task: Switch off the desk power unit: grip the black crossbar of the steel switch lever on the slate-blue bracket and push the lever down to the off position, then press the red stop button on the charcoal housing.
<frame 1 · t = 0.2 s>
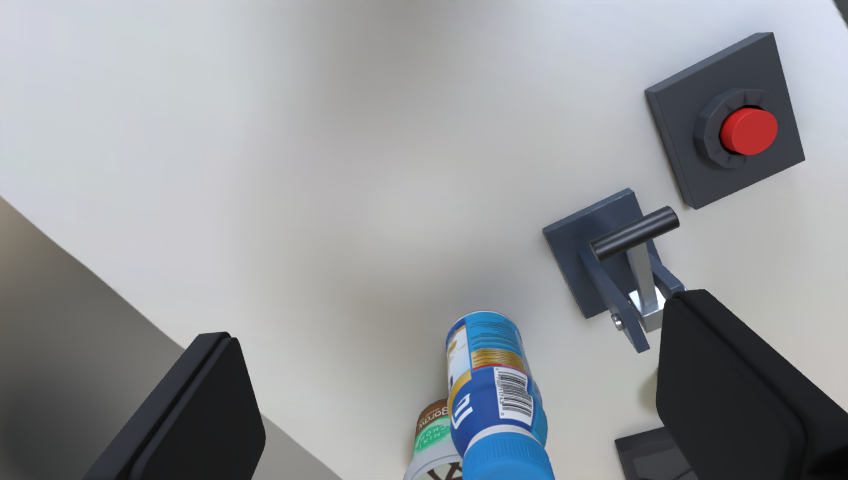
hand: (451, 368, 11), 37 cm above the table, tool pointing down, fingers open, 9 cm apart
beverage bottle: (482, 339, 53), on the table
picture frame: (697, 458, 60), on the table
food container: (437, 415, 57), on the table
button housing: (718, 123, 44), on the table
stop button: (748, 131, 40), point 4 cm above the table, slide at 0.1 cm
switch lever: (642, 277, 36), point 13 cm above the table, hinge at 25.0°
switch bracket: (604, 253, 49), on the table
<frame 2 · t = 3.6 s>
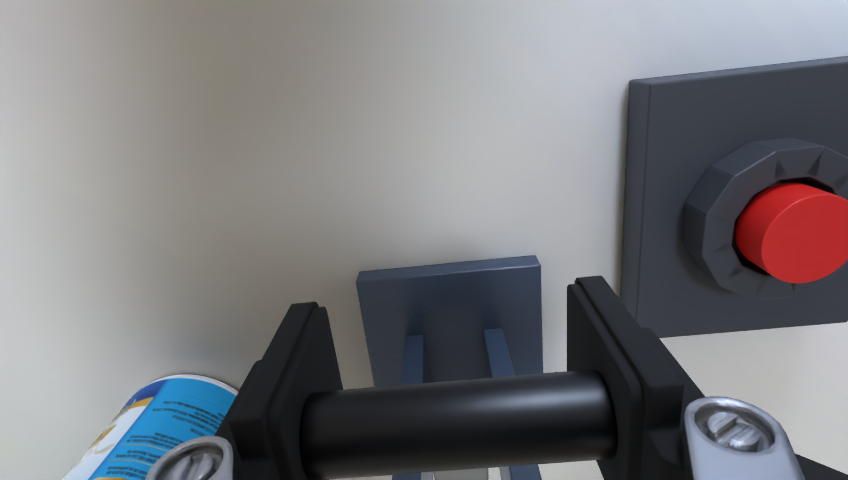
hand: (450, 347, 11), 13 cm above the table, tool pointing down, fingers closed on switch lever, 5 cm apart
beverage bottle: (201, 424, 29), on the table
button housing: (729, 199, 23), on the table
stop button: (795, 232, 19), point 4 cm above the table, slide at 0.1 cm
switch bracket: (455, 354, 27), on the table
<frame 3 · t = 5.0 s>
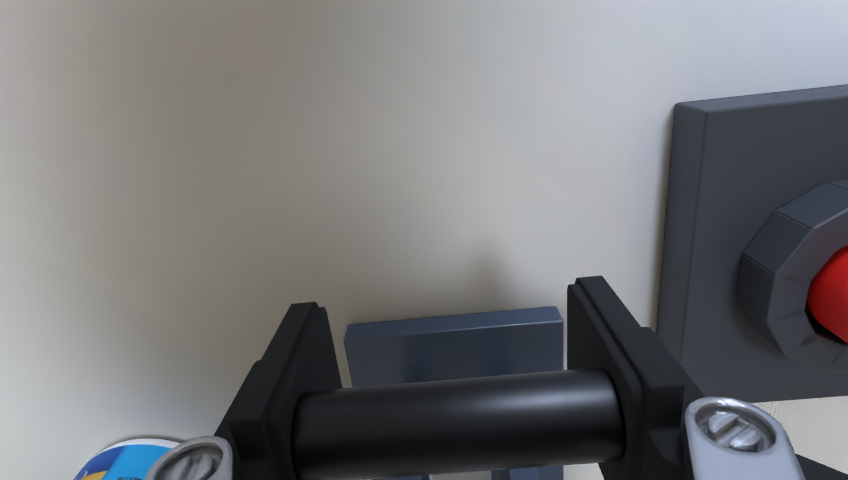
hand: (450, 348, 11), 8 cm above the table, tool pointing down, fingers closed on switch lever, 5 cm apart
button housing: (789, 243, 19), on the table
switch bracket: (461, 415, 23), on the table
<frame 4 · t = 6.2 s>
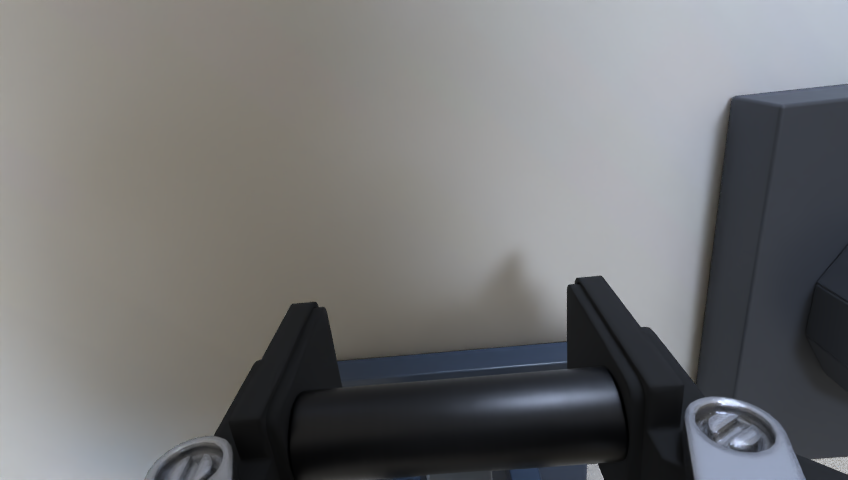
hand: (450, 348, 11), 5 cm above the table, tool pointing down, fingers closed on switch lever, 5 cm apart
switch bracket: (465, 465, 19), on the table
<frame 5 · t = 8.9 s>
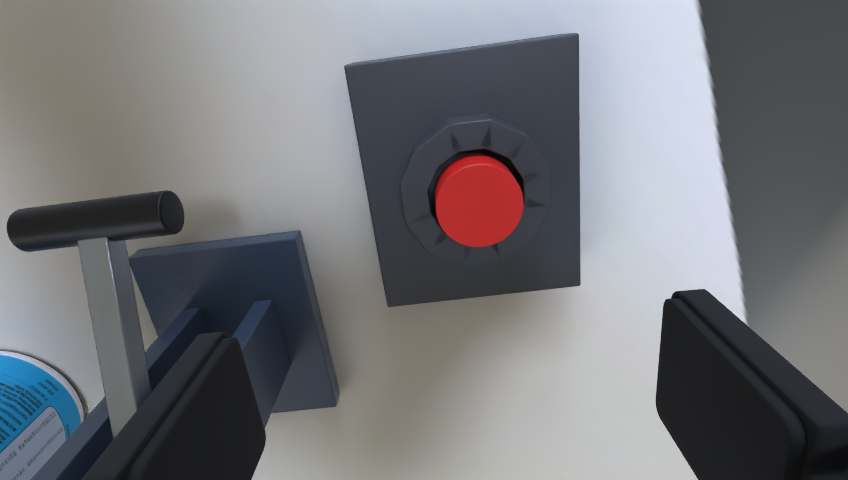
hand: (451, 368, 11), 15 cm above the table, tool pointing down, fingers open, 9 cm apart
beverage bottle: (24, 398, 31), on the table
button housing: (468, 173, 25), on the table
stop button: (477, 200, 21), point 4 cm above the table, slide at 0.1 cm
switch lever: (123, 365, 18), point 10 cm above the table, hinge at -17.6°
switch bracket: (246, 326, 28), on the table
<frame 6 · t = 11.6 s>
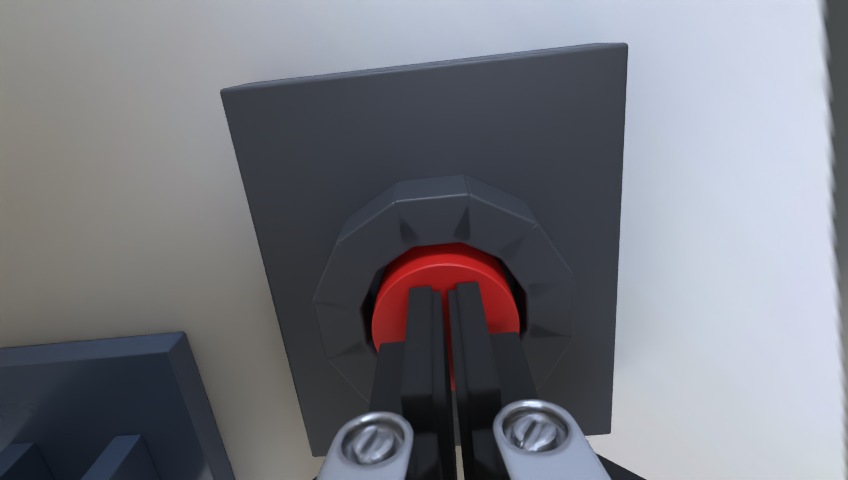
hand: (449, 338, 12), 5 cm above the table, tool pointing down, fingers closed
button housing: (440, 256, 16), on the table
stop button: (444, 312, 13), point 4 cm above the table, slide at -0.7 cm, touching gripper
switch bracket: (115, 458, 19), on the table
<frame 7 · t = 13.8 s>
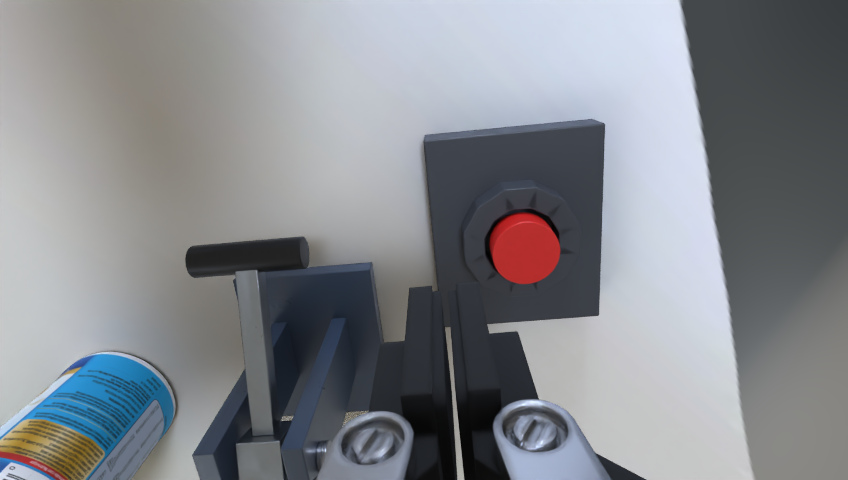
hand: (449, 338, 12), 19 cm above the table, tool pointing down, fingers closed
beverage bottle: (125, 393, 36), on the table
button housing: (511, 222, 31), on the table
stop button: (523, 247, 27), point 4 cm above the table, slide at 0.1 cm
switch lever: (260, 365, 24), point 10 cm above the table, hinge at -17.6°
switch bracket: (319, 338, 34), on the table
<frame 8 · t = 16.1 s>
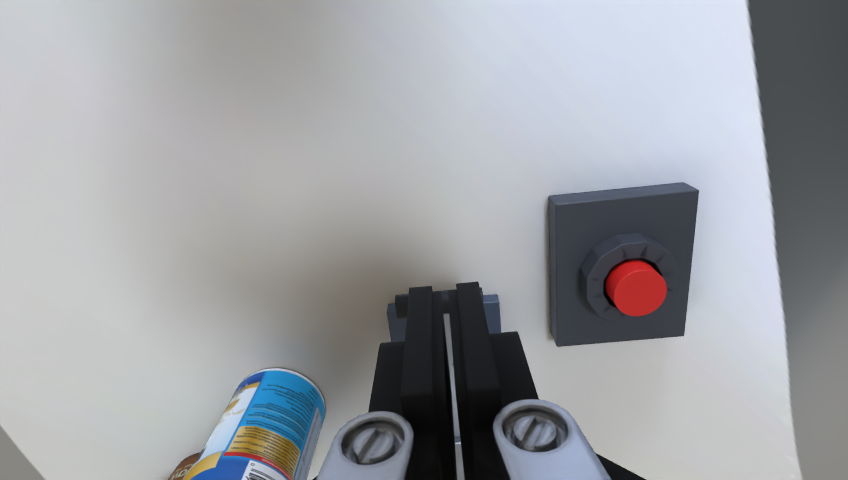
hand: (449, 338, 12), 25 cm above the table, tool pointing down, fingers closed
beverage bottle: (282, 401, 44), on the table
food container: (204, 467, 47), on the table
button housing: (613, 261, 38), on the table
stop button: (635, 287, 34), point 4 cm above the table, slide at 0.1 cm
switch lever: (447, 384, 31), point 10 cm above the table, hinge at -17.6°
switch bracket: (448, 355, 42), on the table
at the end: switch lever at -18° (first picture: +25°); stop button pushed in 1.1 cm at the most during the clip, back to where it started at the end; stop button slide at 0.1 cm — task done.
